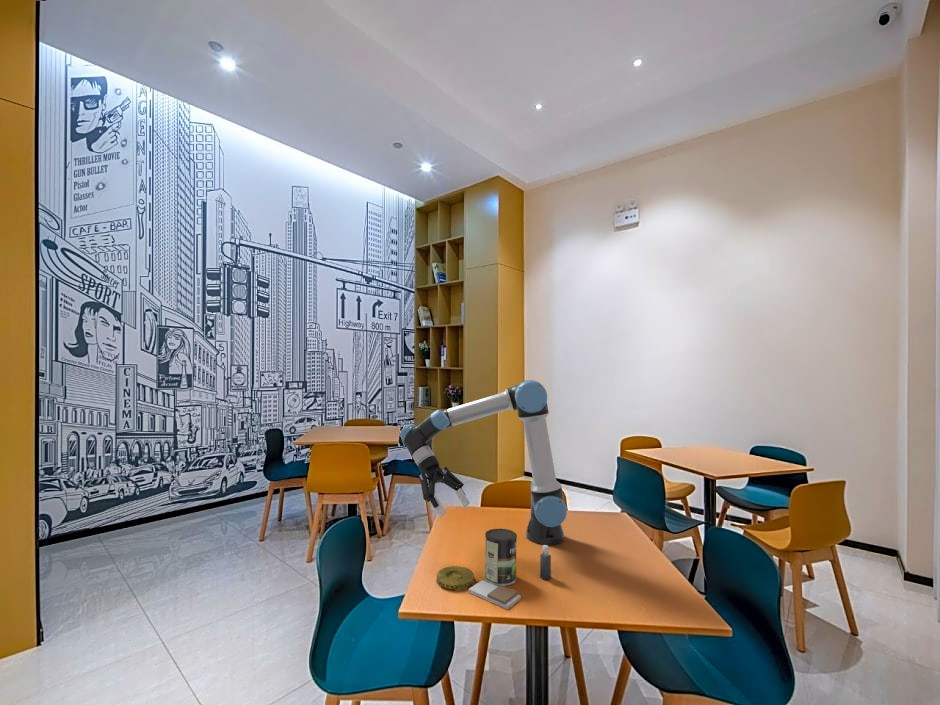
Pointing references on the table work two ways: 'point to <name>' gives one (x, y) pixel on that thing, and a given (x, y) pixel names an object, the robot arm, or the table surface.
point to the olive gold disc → (455, 578)
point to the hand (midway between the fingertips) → (455, 510)
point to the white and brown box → (495, 594)
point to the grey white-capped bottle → (545, 564)
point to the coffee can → (500, 557)
